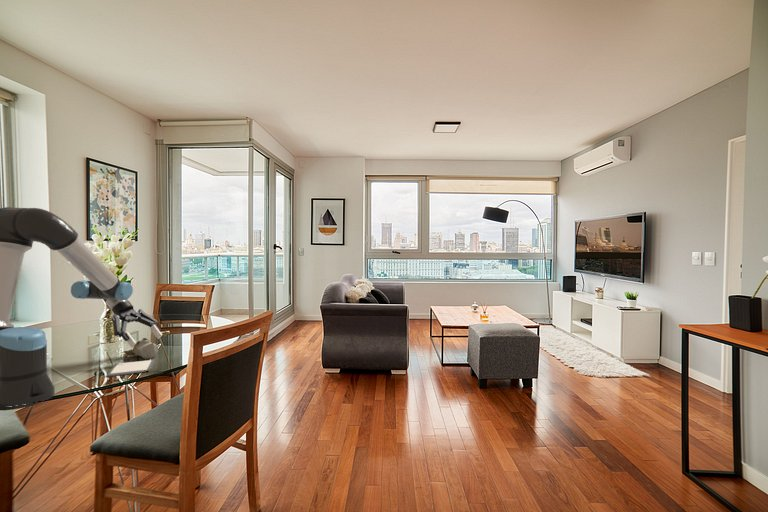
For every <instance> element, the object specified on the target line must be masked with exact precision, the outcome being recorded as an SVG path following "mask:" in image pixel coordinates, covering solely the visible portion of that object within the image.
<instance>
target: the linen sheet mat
mask: <svg viewBox="0 0 768 512" xmlns="http://www.w3.org/2000/svg"><path fill="white" fill-rule="evenodd" d="M154 363H155V359H150V360H149V359H148V360H147V359H146V360H140V361H139V360H138V361H129V362H118V363H115V364H114V365H113V367H112V368H111V369H110V370H109V371H108V373H107V374H106V375H105V377H107V378H108V377H118V376H126V375H134V373H137V374H141V373H140V372H143V371H144V370H147V369H148V368H151V369H152V367H153V366H154ZM151 366H152V367H151Z"/></svg>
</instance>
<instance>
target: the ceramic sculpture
mask: <svg viewBox="0 0 768 512" xmlns="http://www.w3.org/2000/svg"><path fill="white" fill-rule="evenodd" d="M135 342H136V344H135V345H134V346H133V347H132V348H131V349H129V350H125V351H124V353H125V354H126V355H127V356H130V357H131V356H132V357H133V356H137V357H139V358H142V359H144V360H147V359H148V360H149V359H150V360H151V359H152V358H155V357H156V356H157V355H158V351H159V346H158V345H157V344H156V343H153V342H152V341H150V339H148V338H146V337H143V338H142V339H141V340H138V341H135Z"/></svg>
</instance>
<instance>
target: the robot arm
mask: <svg viewBox="0 0 768 512" xmlns="http://www.w3.org/2000/svg"><path fill="white" fill-rule="evenodd" d="M34 242H37V243H41V244H42V245H45V246H46V247H47V248H49V249H50V250H52V251H57V252H58V253H59V255H61V256H62V257H64V259H66V260H67V262H69V263H70V265H72V266H73V267H74V268H76V270H77V271H79V272H80V273H81V274H82V275H83V276H84V277H85V278H86V279H87V280H77V281H75V282H73V284H72V285H71V286H70V294H71V296H72V297H73V298H75V299H80V300H85V299H86V300H87V299H91V300H92V299H93V300H95V299H96V300H103V301H104V302H105V304H106V305H107V306H108V307H109V309H110V311H111V312H112V314H113V315H112V316H111V318H110V319H111V321H112V324H113V325H112V326H113V335H114V336H115V337H117V336H118V337H119V338H122V339H123V341H124V342H126V343H127V344H128V346H130V347H131V349H133V348H134V345H135V344H136V342H137V341H136V340H135V339H134V338H133V336H132V335H131V334H130V333H129V331H127V326H128V324H129V323H132V322H136V323H140V324H142V325H145V326H147V327H149V329H150V331H151V332H152V333H153V335H154V336H155V338H157V339H160V338H161V337H162V336H163V333H162V332H161V331H160V328H159V327H158V326H157V323H158V322H159V321H158V320H157V319H155V318H154V317H152V316H151V315H150V314H148V313H146V312H144V310H143V309H142V308H139V309H138V310H135V309H134V305H133V304H132V303H131V302H130V301H129V298H131V296H132V295H133V293H134V289H133V284H131V283H130V282H125V281H121V280H120V279H119V278H118V277H117V276H116V275H115V274H114V273H113V272H112V271H111V270H110V269H109V268H108V267H107V266H106V265H105V264H104V263H103V262H102V260H100V259H99V258H98V257H97V256H96V255H95V254H94V253H93V252H92V250H90V248H88V246H86V245H85V244H84V242H82V240H80V239H79V233H78V232H77V231H76V230H75V229H74V228H73V227H72V226H71V224H69V223H68V222H66V221H65V220H64V219H63V218H61V217H59V216H58V215H57V214H54V213H52V212H51V211H49V210H46V209H43V208H39V207H37V208H36V207H11V206H5V207H0V411H10V410H11V411H12V410H17V409H23V408H27V407H32V406H35V405H38V404H41V403H44V402H45V400H46V401H47V400H50V399H51V398H53V397H54V396H55V393H56V392H55V385H54V384H53V381H52V380H51V377H50V376H49V374H48V368H47V367H48V364H47V363H48V360H47V359H48V358H47V357H48V356H47V355H48V353H47V347H48V345H47V342H48V341H47V340H48V339H46V332H45V331H44V330H43V329H41V328H39V327H34V326H33V327H32V326H15V325H14V324H13V323H11V321H10V319H11V315H12V314H11V313H12V310H13V305H14V302H15V301H14V300H15V296H16V292H17V289H18V283H19V279H20V274H21V270H22V265H23V261H24V257H25V253H26V252H28V251H29V250H32V248H33V244H34ZM120 321H121V323H120ZM38 401H42V402H38ZM33 402H37V403H33ZM28 403H29V404H28ZM22 404H26V405H22ZM15 405H18V406H15ZM4 406H12V407H4Z"/></svg>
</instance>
